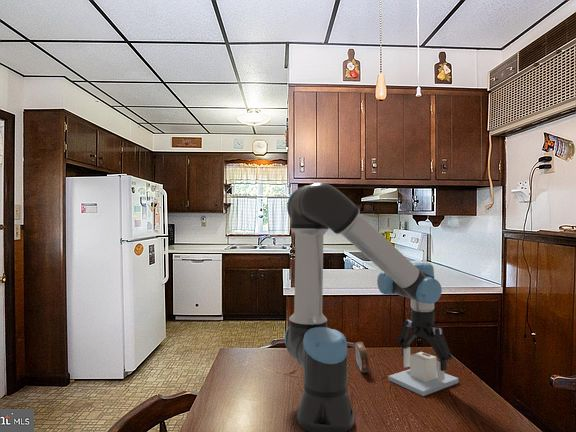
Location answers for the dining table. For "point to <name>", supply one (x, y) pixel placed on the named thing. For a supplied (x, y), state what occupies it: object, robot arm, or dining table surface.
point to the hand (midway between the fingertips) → (423, 373)
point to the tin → (362, 357)
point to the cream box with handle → (423, 366)
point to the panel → (421, 382)
